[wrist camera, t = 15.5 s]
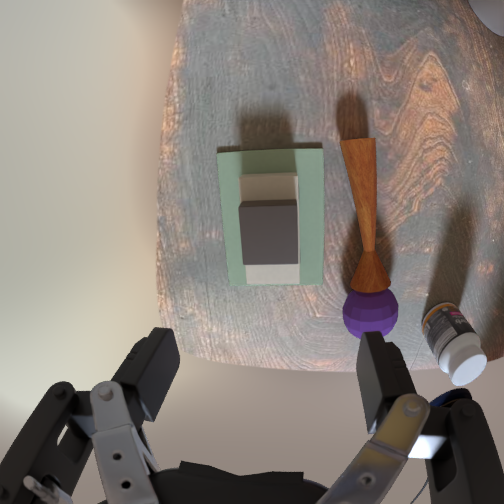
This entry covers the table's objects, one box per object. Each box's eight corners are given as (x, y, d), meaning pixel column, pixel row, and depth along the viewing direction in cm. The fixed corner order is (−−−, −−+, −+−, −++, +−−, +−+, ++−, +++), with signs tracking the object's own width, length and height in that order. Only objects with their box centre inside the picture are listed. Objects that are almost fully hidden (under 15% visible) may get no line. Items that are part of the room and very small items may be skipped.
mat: (322, 283, 31) (322, 284, 30) (230, 284, 32) (229, 285, 32) (322, 148, 26) (323, 148, 25) (217, 152, 27) (216, 153, 27)
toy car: (242, 173, 27) (232, 181, 22) (297, 171, 26) (300, 179, 21) (249, 270, 31) (242, 297, 26) (299, 270, 30) (301, 297, 25)
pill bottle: (463, 309, 30) (499, 356, 21) (438, 342, 32) (465, 393, 23) (438, 293, 30) (475, 343, 21) (411, 329, 32) (438, 385, 23)
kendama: (401, 135, 21) (406, 341, 26) (371, 140, 26) (382, 316, 32) (338, 139, 21) (354, 357, 26) (317, 145, 26) (336, 328, 32)
